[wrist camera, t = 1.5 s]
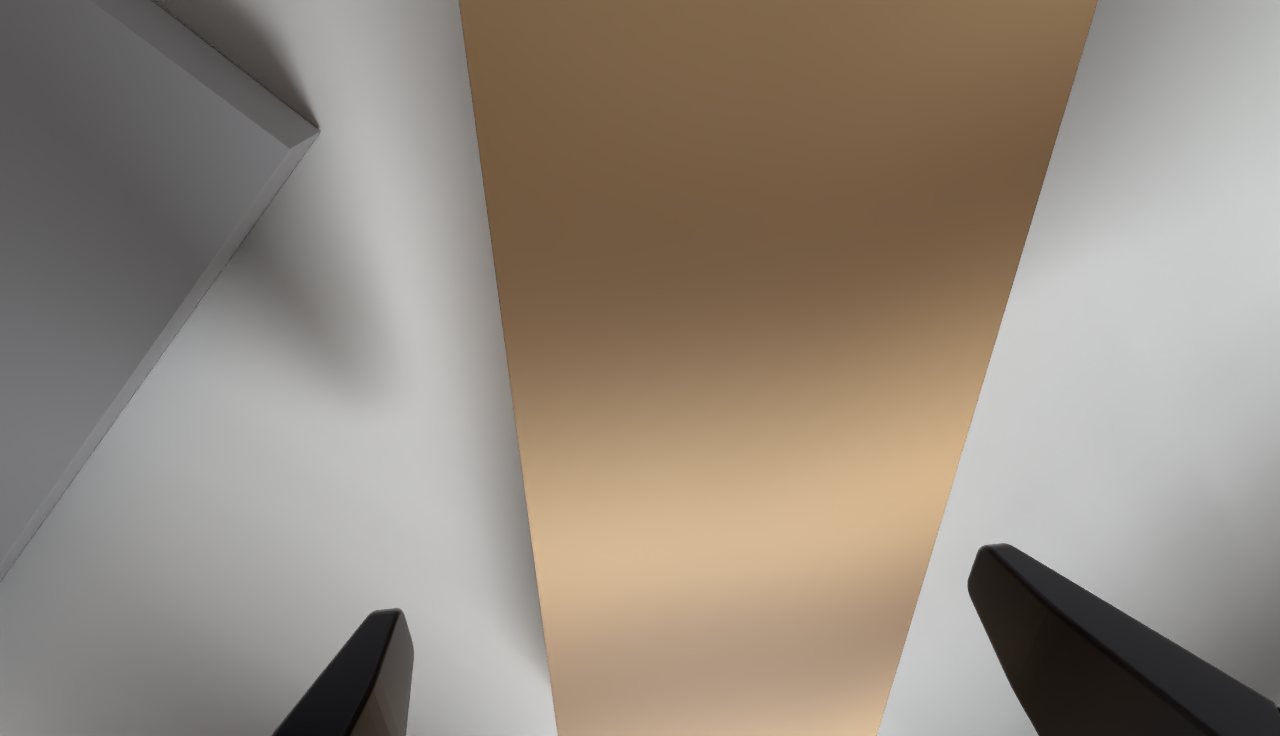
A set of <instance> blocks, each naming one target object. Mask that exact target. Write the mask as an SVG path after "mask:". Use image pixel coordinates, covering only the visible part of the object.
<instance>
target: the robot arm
mask: <svg viewBox="0 0 1280 736" xmlns="http://www.w3.org/2000/svg"><path fill="white" fill-rule="evenodd" d="M968 592H969V595H970V598H971V600H972V602H973V604H974V607H975V609H976V611H977V613H978V615H979V618H980V620H981V622H982V624H983V626H984V629H985V631H986V633H987V635H988V637H989V640H990V642H991V644H992V646H993V648H994V651H995V653H996V655H997V657H998V659H999V662H1000V664H1001V666H1002V668H1003V670H1004V673H1005V675H1006V677H1007V679H1008V681H1009V683H1010V685H1011V687H1012V689H1013V691H1014V692H1015V694H1016V696H1017V698H1018V700H1019V702H1020V703H1021V705H1022V707H1023V709H1024V710H1025V712H1026V714H1027V716H1028V717H1029V719H1030V721H1031V723H1032V724H1033V726H1034V728H1035V730H1036V731H1037V733H1038V735H1039V736H1280V707H1276V705H1275V704H1274V703H1273V702H1272V701H1271V700H1269V699H1267V698H1266V697H1264V696H1262V695H1261V694H1259V693H1257V692H1256V691H1254V690H1252V689H1251V688H1249V687H1247V686H1246V685H1244V684H1242V683H1241V682H1239V681H1237V680H1236V679H1234V678H1232V677H1231V676H1229V675H1227V674H1226V673H1224V672H1222V671H1220V670H1219V669H1217V668H1215V667H1214V666H1212V665H1210V664H1209V663H1207V662H1205V661H1204V660H1202V659H1200V658H1199V657H1197V656H1195V655H1194V654H1192V653H1190V652H1189V651H1187V650H1185V649H1184V648H1182V647H1180V646H1179V645H1177V644H1175V643H1174V642H1172V641H1170V640H1169V639H1167V638H1165V637H1164V636H1162V635H1160V634H1159V633H1157V632H1155V631H1154V630H1152V629H1150V628H1149V627H1147V626H1145V625H1144V624H1142V623H1140V622H1139V621H1137V620H1135V619H1134V618H1132V617H1130V616H1129V615H1127V614H1125V613H1124V612H1122V611H1120V610H1119V609H1117V608H1115V607H1114V606H1112V605H1110V604H1109V603H1107V602H1105V601H1104V600H1102V599H1100V598H1099V597H1097V596H1095V595H1094V594H1092V593H1090V592H1089V591H1087V590H1085V589H1084V588H1082V587H1080V586H1079V585H1077V584H1075V583H1074V582H1072V581H1070V580H1069V579H1067V578H1065V577H1064V576H1062V575H1060V574H1059V573H1057V572H1055V571H1054V570H1052V569H1050V568H1049V567H1047V566H1045V565H1044V564H1042V563H1040V562H1039V561H1037V560H1035V559H1034V558H1032V557H1030V556H1029V555H1027V554H1025V553H1024V552H1022V551H1020V550H1018V549H1017V548H1015V547H1013V546H1011V545H1009V544H1004V543H1001V544H992V545H984V546H982V547H981V548H980V549H979V550H978V552H977V555H976V558H975V561H974V563H973V566H972V569H971V572H970V575H969V578H968ZM413 661H414V648H413V642H412V639H411V636H410V632H409V629H408V625H407V622H406V619H405V615H404V613H403V611H402V610H401V609H399V608H393V609H384V610H376V611H373V612H372V613H370V614H369V615H368V616H367V618H366V619H365V620H364V621H363V623H362V624H361V625H360V626H359V627H358V629H357V630H356V631H355V632H354V634H353V635H352V636H351V637H350V639H349V640H348V641H347V642H346V644H345V645H344V646H343V647H342V649H341V650H340V651H339V652H338V654H337V655H336V656H335V657H334V659H333V660H332V661H331V662H330V663H329V665H328V666H327V667H326V668H325V670H324V671H323V672H322V673H321V675H320V676H319V677H318V678H317V680H316V681H315V682H314V683H313V685H312V686H311V687H310V688H309V690H308V691H307V692H306V693H305V695H304V696H303V697H302V698H301V700H300V701H299V702H298V703H297V704H296V706H295V707H294V708H293V709H292V711H291V712H290V713H289V714H288V716H287V717H286V718H285V719H284V721H283V722H282V723H281V724H280V726H279V727H278V728H277V729H276V731H275V732H274V733H273V734H272V736H406V728H407V719H408V709H409V699H410V690H411V680H412V671H413Z"/></svg>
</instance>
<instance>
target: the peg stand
mask: <svg viewBox="0 0 1280 736" xmlns="http://www.w3.org/2000/svg"><path fill="white" fill-rule="evenodd" d="M320 132H321V131H320V130H318V129H317V128H316V127H314V126H313V125H312V124H311V123H309V122H308V121H307V120H305V119H304V118H303V117H302V116H300V115H299V114H298V113H296V112H295V111H294V110H292V109H291V108H290V107H289V106H287V105H286V104H285V103H283V102H282V101H281V100H280V99H278V98H277V97H276V96H274V95H273V94H272V93H271V92H269V91H268V90H267V89H265V88H264V87H263V86H262V85H260V84H259V83H258V82H256V81H255V80H254V79H252V78H251V77H250V76H249V75H247V74H246V73H245V72H243V71H242V70H241V69H240V68H238V67H237V66H236V65H234V64H233V63H232V62H231V61H229V60H228V59H227V58H225V57H224V56H223V55H222V54H220V53H219V52H218V51H216V50H215V49H214V48H213V47H211V46H210V45H209V44H207V43H206V42H205V41H203V40H202V39H201V38H200V37H198V36H197V35H196V34H194V33H193V32H192V31H191V30H189V29H188V28H187V27H185V26H184V25H183V24H182V23H180V22H179V21H178V20H176V19H175V18H174V17H173V16H171V15H170V14H169V13H167V12H166V11H165V10H163V9H162V8H161V7H160V6H158V5H157V4H156V3H154V2H153V1H152V0H0V582H1V580H2V579H3V577H4V576H5V574H6V573H7V572H8V570H9V569H10V567H11V566H12V565H13V563H14V562H15V560H16V559H17V558H18V556H19V555H20V553H21V552H22V551H23V549H24V548H25V546H26V545H27V544H28V542H29V541H30V539H31V538H32V537H33V535H34V534H35V532H36V531H37V529H38V528H39V527H40V525H41V524H42V522H43V521H44V520H45V518H46V517H47V515H48V514H49V513H50V511H51V510H52V508H53V507H54V506H55V504H56V503H57V501H58V500H59V499H60V497H61V496H62V494H63V493H64V492H65V490H66V489H67V487H68V486H69V485H70V483H71V482H72V480H73V479H74V477H75V476H76V475H77V473H78V472H79V470H80V469H81V468H82V466H83V465H84V463H85V462H86V461H87V459H88V458H89V456H90V455H91V454H92V452H93V451H94V449H95V448H96V447H97V445H98V444H99V442H100V441H101V440H102V438H103V437H104V435H105V434H106V433H107V431H108V430H109V428H110V427H111V425H112V424H113V423H114V421H115V420H116V418H117V417H118V416H119V414H120V413H121V411H122V410H123V409H124V407H125V406H126V404H127V403H128V402H129V400H130V399H131V397H132V396H133V395H134V393H135V392H136V390H137V389H138V388H139V386H140V385H141V383H142V382H143V380H144V379H145V378H146V376H147V375H148V373H149V372H150V371H151V369H152V368H153V366H154V365H155V364H156V362H157V361H158V359H159V358H160V357H161V355H162V354H163V352H164V351H165V350H166V348H167V347H168V345H169V344H170V343H171V341H172V340H173V338H174V337H175V336H176V334H177V333H178V331H179V330H180V328H181V327H182V326H183V324H184V323H185V321H186V320H187V319H188V317H189V316H190V314H191V313H192V312H193V310H194V309H195V307H196V306H197V305H198V303H199V302H200V300H201V299H202V298H203V296H204V295H205V293H206V292H207V291H208V289H209V288H210V286H211V285H212V283H213V282H214V281H215V279H216V278H217V276H218V275H219V274H220V272H221V271H222V269H223V268H224V267H225V265H226V264H227V262H228V261H229V260H230V258H231V257H232V255H233V254H234V253H235V251H236V250H237V248H238V247H239V246H240V244H241V243H242V241H243V240H244V239H245V237H246V236H247V234H248V233H249V231H250V230H251V229H252V227H253V226H254V224H255V223H256V222H257V220H258V219H259V217H260V216H261V215H262V213H263V212H264V210H265V209H266V208H267V206H268V205H269V203H270V202H271V201H272V199H273V198H274V196H275V195H276V194H277V192H278V191H279V189H280V188H281V186H282V185H283V184H284V182H285V181H286V179H287V178H288V177H289V175H290V174H291V172H292V171H293V170H294V168H295V167H296V165H297V164H298V163H299V161H300V160H301V158H302V157H303V156H304V154H305V153H306V151H307V150H308V149H309V147H310V146H311V144H312V143H313V142H314V140H315V139H316V137H317V136H318V134H319V133H320Z"/></svg>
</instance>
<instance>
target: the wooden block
mask: <svg viewBox="0 0 1280 736" xmlns="http://www.w3.org/2000/svg"><path fill="white" fill-rule="evenodd" d="M1097 2H1098V0H459V6H460V13H461V20H462V28H463V35H464V43H465V50H466V58H467V65H468V72H469V80H470V87H471V95H472V102H473V110H474V117H475V124H476V132H477V139H478V147H479V154H480V162H481V169H482V176H483V184H484V191H485V199H486V206H487V214H488V221H489V228H490V236H491V243H492V251H493V258H494V266H495V273H496V280H497V288H498V295H499V303H500V310H501V318H502V325H503V332H504V340H505V347H506V355H507V362H508V369H509V377H510V384H511V392H512V399H513V407H514V414H515V421H516V429H517V436H518V444H519V451H520V459H521V466H522V473H523V481H524V488H525V496H526V503H527V511H528V518H529V525H530V533H531V540H532V548H533V555H534V563H535V570H536V577H537V585H538V592H539V600H540V607H541V615H542V622H543V629H544V637H545V644H546V652H547V659H548V667H549V674H550V681H551V689H552V696H553V704H554V711H555V719H556V726H557V733H558V736H877V734H878V730H879V727H880V724H881V720H882V717H883V714H884V710H885V707H886V704H887V700H888V697H889V694H890V690H891V687H892V684H893V680H894V677H895V674H896V670H897V667H898V664H899V660H900V657H901V654H902V651H903V647H904V644H905V641H906V637H907V634H908V631H909V627H910V624H911V621H912V617H913V614H914V611H915V607H916V604H917V601H918V597H919V594H920V591H921V587H922V584H923V581H924V577H925V574H926V571H927V567H928V564H929V561H930V557H931V554H932V551H933V547H934V544H935V541H936V537H937V534H938V531H939V527H940V524H941V521H942V517H943V514H944V511H945V507H946V504H947V501H948V497H949V494H950V491H951V487H952V484H953V481H954V477H955V474H956V471H957V468H958V464H959V461H960V458H961V454H962V451H963V448H964V444H965V441H966V438H967V434H968V431H969V428H970V424H971V421H972V418H973V414H974V411H975V408H976V404H977V401H978V398H979V394H980V391H981V388H982V384H983V381H984V378H985V374H986V371H987V368H988V364H989V361H990V358H991V354H992V351H993V348H994V344H995V341H996V338H997V334H998V331H999V328H1000V324H1001V321H1002V318H1003V314H1004V311H1005V308H1006V304H1007V301H1008V298H1009V294H1010V291H1011V288H1012V285H1013V281H1014V278H1015V275H1016V271H1017V268H1018V265H1019V261H1020V258H1021V255H1022V251H1023V248H1024V245H1025V241H1026V238H1027V235H1028V231H1029V228H1030V225H1031V221H1032V218H1033V215H1034V211H1035V208H1036V205H1037V201H1038V198H1039V195H1040V191H1041V188H1042V185H1043V181H1044V178H1045V175H1046V171H1047V168H1048V165H1049V161H1050V158H1051V155H1052V151H1053V148H1054V145H1055V141H1056V138H1057V135H1058V131H1059V128H1060V125H1061V121H1062V118H1063V115H1064V111H1065V108H1066V105H1067V102H1068V98H1069V95H1070V92H1071V88H1072V85H1073V82H1074V78H1075V75H1076V72H1077V68H1078V65H1079V62H1080V58H1081V55H1082V52H1083V48H1084V45H1085V42H1086V38H1087V35H1088V32H1089V28H1090V25H1091V22H1092V18H1093V15H1094V12H1095V8H1096V5H1097Z"/></svg>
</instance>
